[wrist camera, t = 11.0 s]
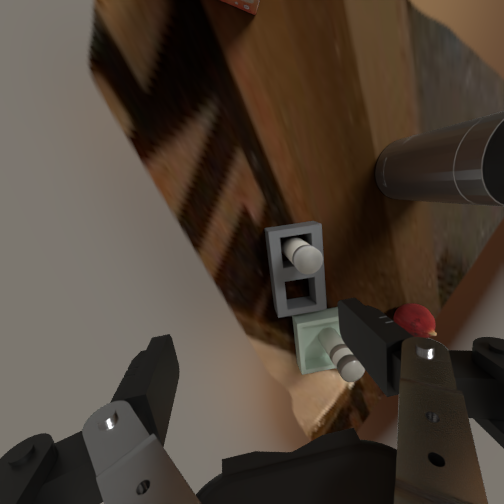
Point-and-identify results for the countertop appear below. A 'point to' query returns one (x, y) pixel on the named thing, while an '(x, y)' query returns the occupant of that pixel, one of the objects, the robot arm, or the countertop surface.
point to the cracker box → (244, 5)
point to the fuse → (302, 254)
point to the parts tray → (313, 339)
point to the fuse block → (295, 270)
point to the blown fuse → (340, 355)
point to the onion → (415, 320)
